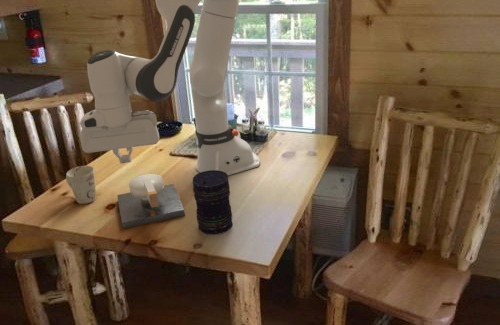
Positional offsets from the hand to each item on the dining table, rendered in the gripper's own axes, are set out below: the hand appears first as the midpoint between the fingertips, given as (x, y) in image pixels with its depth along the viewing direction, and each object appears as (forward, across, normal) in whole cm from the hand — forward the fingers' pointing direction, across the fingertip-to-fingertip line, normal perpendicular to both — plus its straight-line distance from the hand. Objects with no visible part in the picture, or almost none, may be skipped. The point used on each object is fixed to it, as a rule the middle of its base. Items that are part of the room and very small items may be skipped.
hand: (126, 162), depth 136 cm
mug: (+19, +21, -20) cm, 35 cm away
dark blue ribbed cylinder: (+21, -22, +5) cm, 30 cm away
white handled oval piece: (+14, -3, -5) cm, 15 cm away
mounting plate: (+20, -2, -9) cm, 22 cm away
